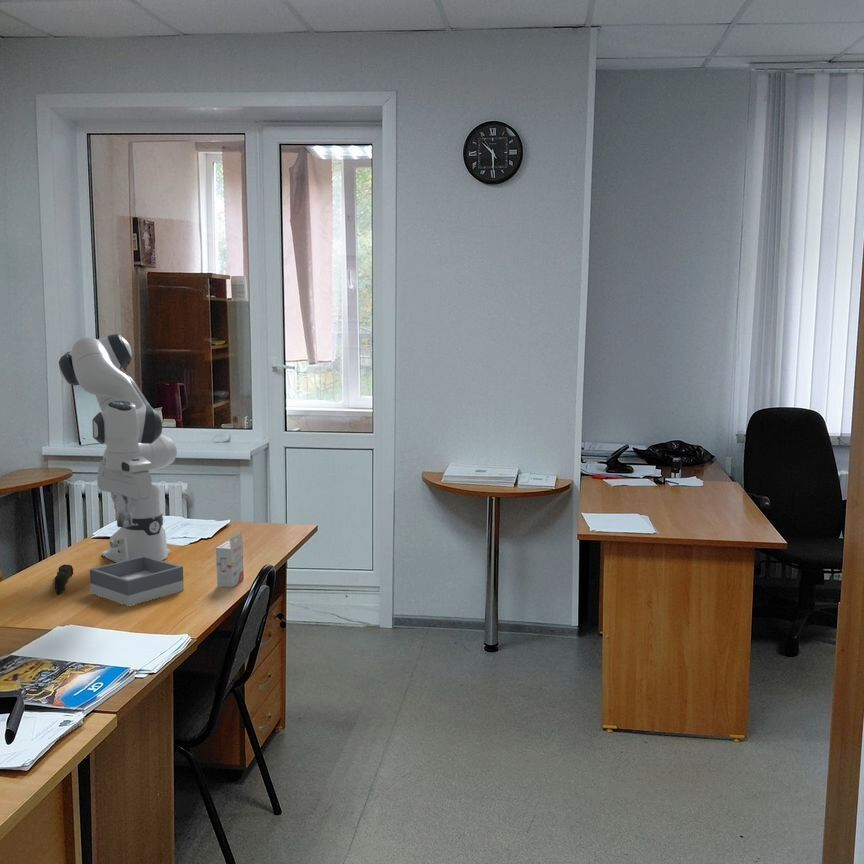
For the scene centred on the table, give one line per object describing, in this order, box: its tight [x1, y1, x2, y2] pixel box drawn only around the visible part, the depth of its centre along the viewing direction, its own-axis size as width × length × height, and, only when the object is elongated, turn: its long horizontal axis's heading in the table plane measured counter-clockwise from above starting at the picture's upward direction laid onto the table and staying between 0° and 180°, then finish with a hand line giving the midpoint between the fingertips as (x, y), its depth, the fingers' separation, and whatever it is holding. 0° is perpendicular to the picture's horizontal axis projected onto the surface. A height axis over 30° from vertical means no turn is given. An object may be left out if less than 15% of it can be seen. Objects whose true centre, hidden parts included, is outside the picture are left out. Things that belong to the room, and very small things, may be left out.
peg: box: [115, 494, 132, 528], centre depth 248 cm, size 4×4×9 cm
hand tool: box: [54, 564, 74, 596], centre depth 261 cm, size 19×4×5 cm, turn 13°
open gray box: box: [89, 556, 185, 607], centre depth 255 cm, size 18×18×7 cm
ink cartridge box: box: [215, 531, 244, 588], centre depth 264 cm, size 9×5×15 cm, turn 168°
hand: (124, 510), depth 248 cm, fingers closed on peg, 4 cm apart
